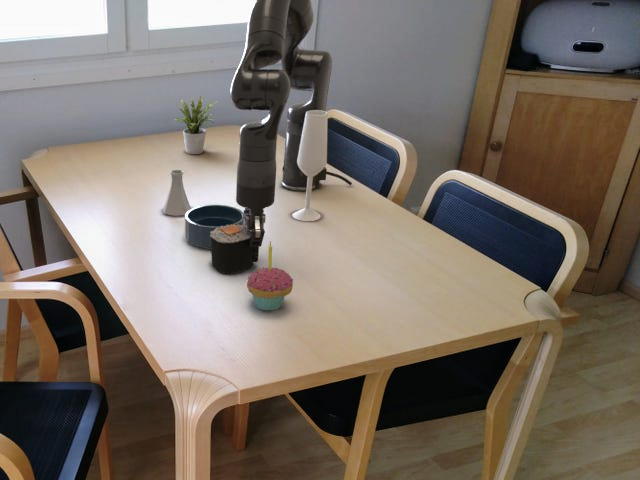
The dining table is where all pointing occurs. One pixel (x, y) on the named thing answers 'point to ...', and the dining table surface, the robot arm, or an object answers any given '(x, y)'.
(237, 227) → the sushi
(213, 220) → the bowl
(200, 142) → the house plant
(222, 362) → the dining table surface
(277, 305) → the cupcake
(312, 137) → the champagne flute
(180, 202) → the flask
